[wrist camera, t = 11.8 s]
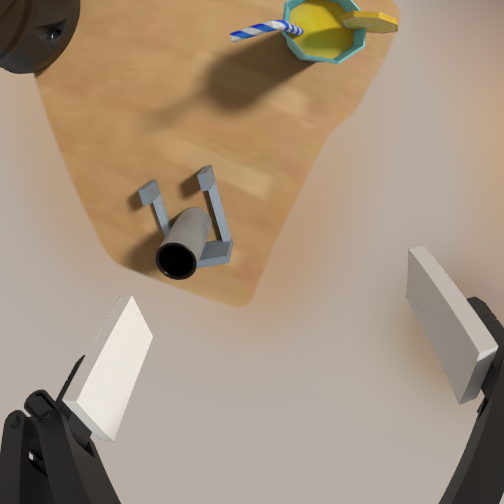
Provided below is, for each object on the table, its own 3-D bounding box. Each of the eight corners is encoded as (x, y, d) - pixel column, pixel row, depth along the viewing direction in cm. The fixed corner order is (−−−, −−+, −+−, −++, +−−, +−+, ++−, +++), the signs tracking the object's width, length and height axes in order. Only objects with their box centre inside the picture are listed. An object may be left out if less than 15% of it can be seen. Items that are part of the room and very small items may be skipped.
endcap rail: (149, 181, 39) (135, 193, 35) (211, 165, 38) (204, 175, 34) (174, 255, 44) (164, 273, 40) (233, 244, 43) (229, 262, 39)
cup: (254, 88, 34) (246, 83, 20) (233, 29, 30) (213, -8, 17) (367, 63, 31) (423, 50, 18) (348, 5, 28) (392, -36, 15)
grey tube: (171, 219, 42) (146, 256, 33) (197, 200, 40) (177, 234, 31) (192, 244, 43) (174, 287, 34) (218, 227, 42) (205, 267, 33)
